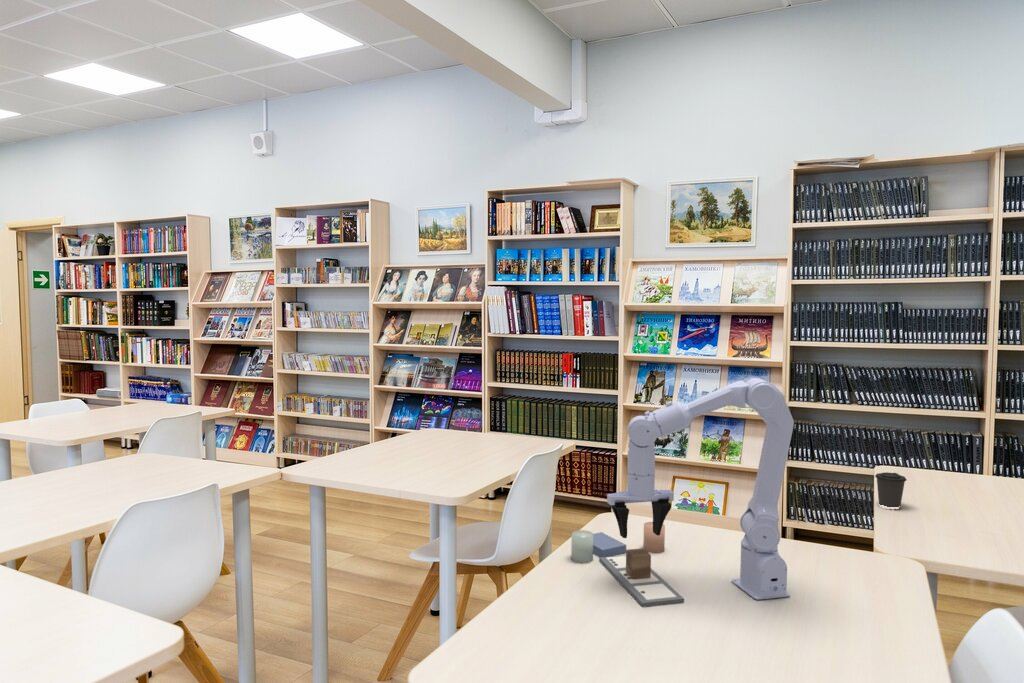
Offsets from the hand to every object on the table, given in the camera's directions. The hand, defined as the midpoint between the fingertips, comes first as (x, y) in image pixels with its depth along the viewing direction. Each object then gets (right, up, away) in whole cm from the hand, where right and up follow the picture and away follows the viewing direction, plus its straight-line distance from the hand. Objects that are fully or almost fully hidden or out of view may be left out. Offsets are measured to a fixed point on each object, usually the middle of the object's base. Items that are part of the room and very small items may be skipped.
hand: (640, 535), depth 145 cm
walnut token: (0, -9, +1) cm, 9 cm away
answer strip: (0, -10, +1) cm, 10 cm away
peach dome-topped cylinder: (+7, -9, +19) cm, 22 cm away
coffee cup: (+83, -7, +53) cm, 99 cm away
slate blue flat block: (-6, -9, +19) cm, 22 cm away
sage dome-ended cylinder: (-11, -9, +12) cm, 19 cm away
